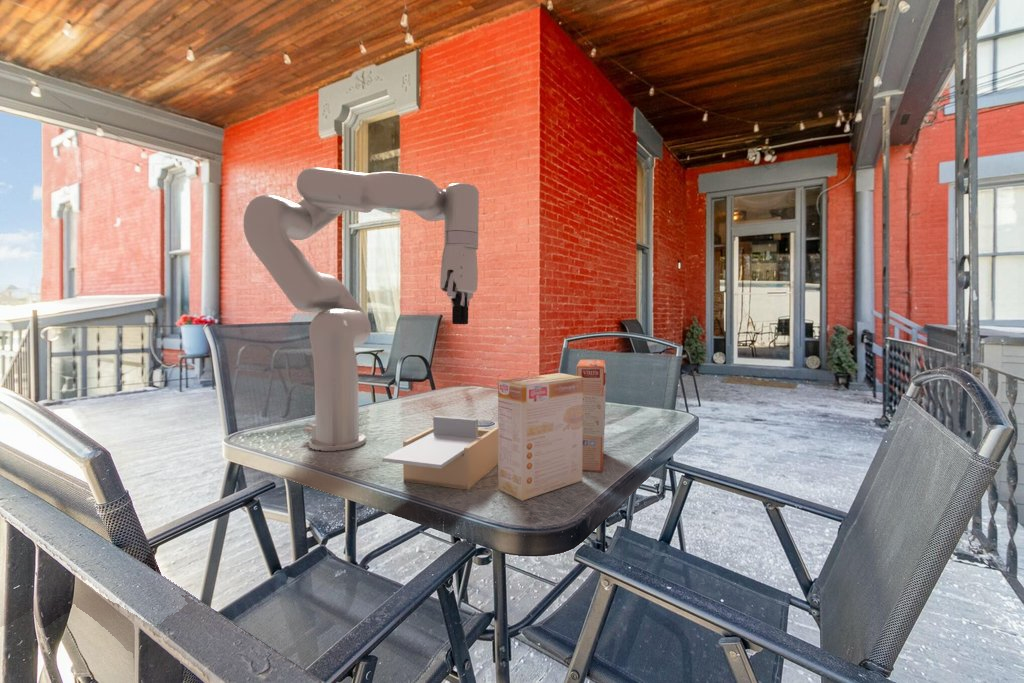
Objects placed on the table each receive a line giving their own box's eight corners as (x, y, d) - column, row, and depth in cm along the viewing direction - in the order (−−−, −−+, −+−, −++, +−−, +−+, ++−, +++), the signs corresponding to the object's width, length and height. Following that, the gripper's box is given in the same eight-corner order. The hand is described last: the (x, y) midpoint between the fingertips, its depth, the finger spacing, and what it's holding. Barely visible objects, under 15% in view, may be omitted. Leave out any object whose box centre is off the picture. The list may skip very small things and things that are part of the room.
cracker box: (604, 473, 91) (606, 365, 89) (573, 471, 92) (574, 365, 91) (604, 452, 104) (606, 358, 103) (577, 450, 106) (578, 358, 104)
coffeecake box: (556, 471, 92) (557, 372, 91) (584, 481, 86) (585, 376, 85) (496, 489, 82) (496, 379, 81) (522, 502, 77) (523, 384, 76)
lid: (382, 461, 77) (381, 437, 77) (432, 435, 94) (432, 415, 94) (440, 468, 74) (440, 443, 74) (482, 440, 91) (482, 419, 90)
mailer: (403, 481, 86) (403, 441, 86) (447, 453, 103) (447, 420, 103) (468, 489, 82) (468, 448, 81) (503, 459, 99) (503, 424, 98)
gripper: (461, 247, 113) (460, 323, 114) (429, 237, 99) (428, 324, 100) (489, 246, 110) (488, 324, 111) (461, 236, 96) (460, 325, 97)
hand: (460, 323), depth 106 cm, fingers closed
